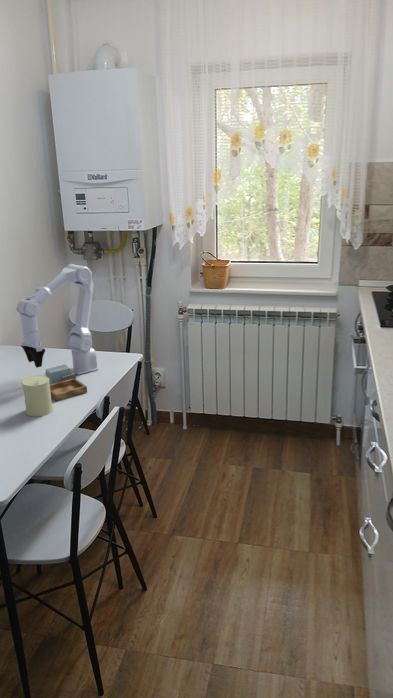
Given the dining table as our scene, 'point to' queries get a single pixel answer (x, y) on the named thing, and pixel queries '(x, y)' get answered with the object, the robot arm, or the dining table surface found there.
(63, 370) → the pale blue cuboid
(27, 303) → the robot arm
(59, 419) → the dining table surface
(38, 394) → the can
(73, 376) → the bay
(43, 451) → the dining table surface
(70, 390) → the tray
